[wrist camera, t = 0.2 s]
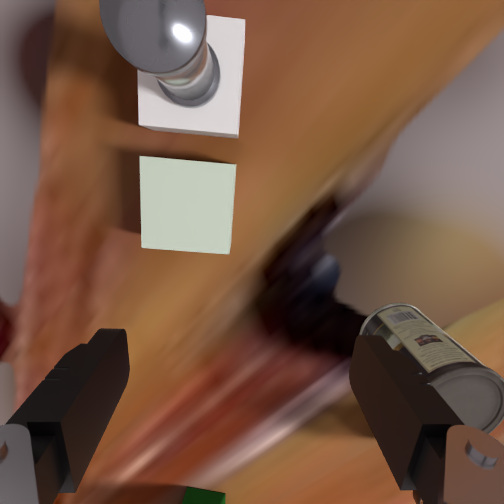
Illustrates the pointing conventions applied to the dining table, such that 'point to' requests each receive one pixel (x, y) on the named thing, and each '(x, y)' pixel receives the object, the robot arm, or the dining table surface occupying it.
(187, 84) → the cylinder
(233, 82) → the stand
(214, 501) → the milk carton
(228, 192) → the stand
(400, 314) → the coffee can
